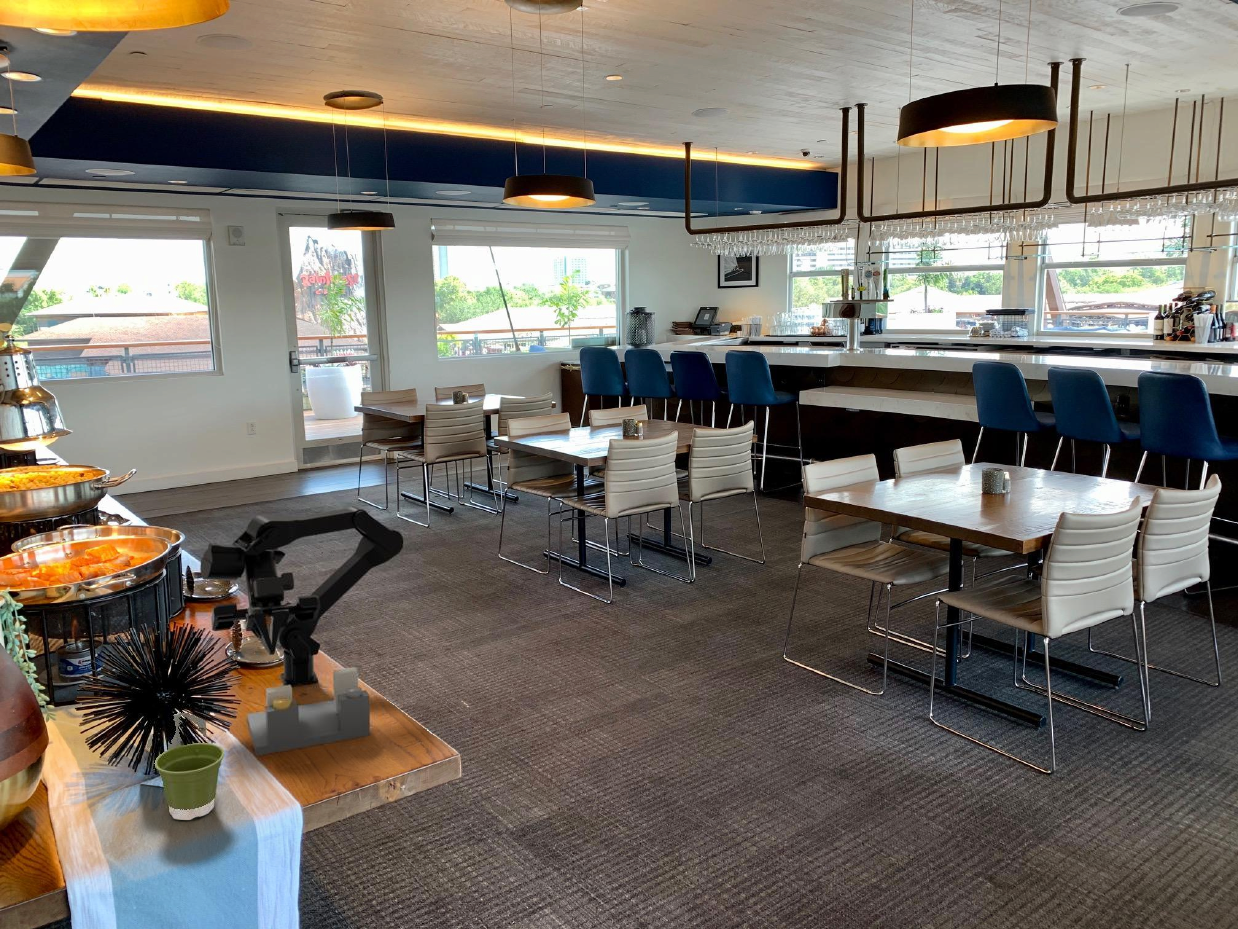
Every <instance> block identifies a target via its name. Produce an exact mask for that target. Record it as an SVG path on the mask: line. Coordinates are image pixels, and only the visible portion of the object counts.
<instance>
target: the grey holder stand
mask: <svg viewBox="0 0 1238 929" xmlns="http://www.w3.org/2000/svg"><path fill="white" fill-rule="evenodd" d="M370 714H371V711H370V694H369V692H368V691H367V690H365V689H364V690H362V687H360V686H358V687H349V688H347V689H346V690H345V694H339V695H338V714H336V712H335V710H334V699H332V700H328V701H325V700H324V701H320V702H314V703H308V704H301V705H298V703H297V701H292V702H291V700H290V699H289V698H278V699H276V700H274V701H273V705H270V706H267V705H266V706H265V711H258V712H252V713H246V723H248V724H247V727H248V731H249V734H250V738H251V742H252V745H253V750H254V752H255V756H256V757H257V756H262V755H263V756H264V755H268V754H274V753H279V752H284V751H285V752H286V751H290V750H295V749H302V748H307V747H312V746H318V745H323V744H327V743H334V742H340V741H344V740H350V739H351V740H352V739H355V738H361V737H367V736H370V735H371V727H370V726H371V717H370V716H371V715H370Z"/></svg>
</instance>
